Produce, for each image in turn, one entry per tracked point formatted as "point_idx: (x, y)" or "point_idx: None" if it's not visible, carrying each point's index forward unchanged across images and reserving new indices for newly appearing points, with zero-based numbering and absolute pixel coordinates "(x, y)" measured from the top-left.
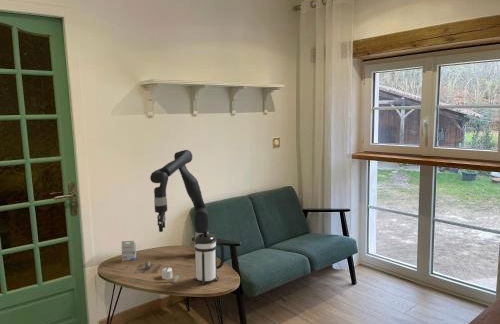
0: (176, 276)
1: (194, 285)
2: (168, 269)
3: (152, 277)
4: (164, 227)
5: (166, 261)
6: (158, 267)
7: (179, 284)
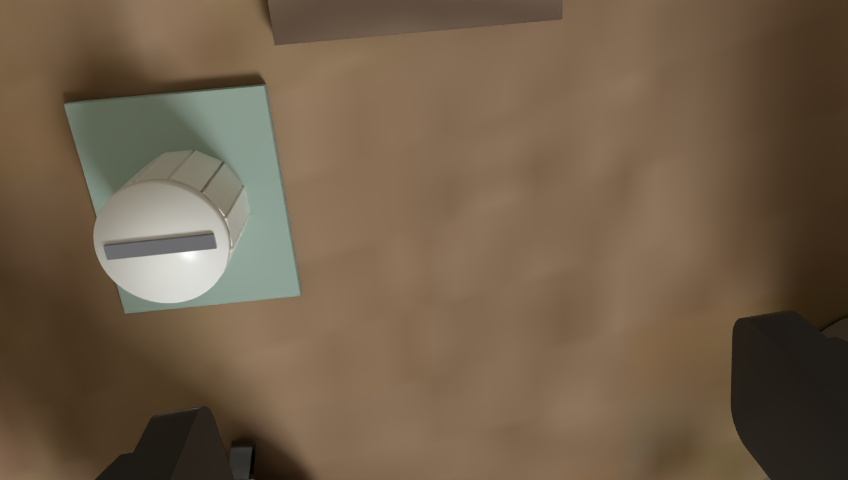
0: (259, 282)
1: None
2: (167, 263)
3: (215, 13)
4: (735, 421)
5: (723, 25)
6: (455, 12)
7: (108, 348)
